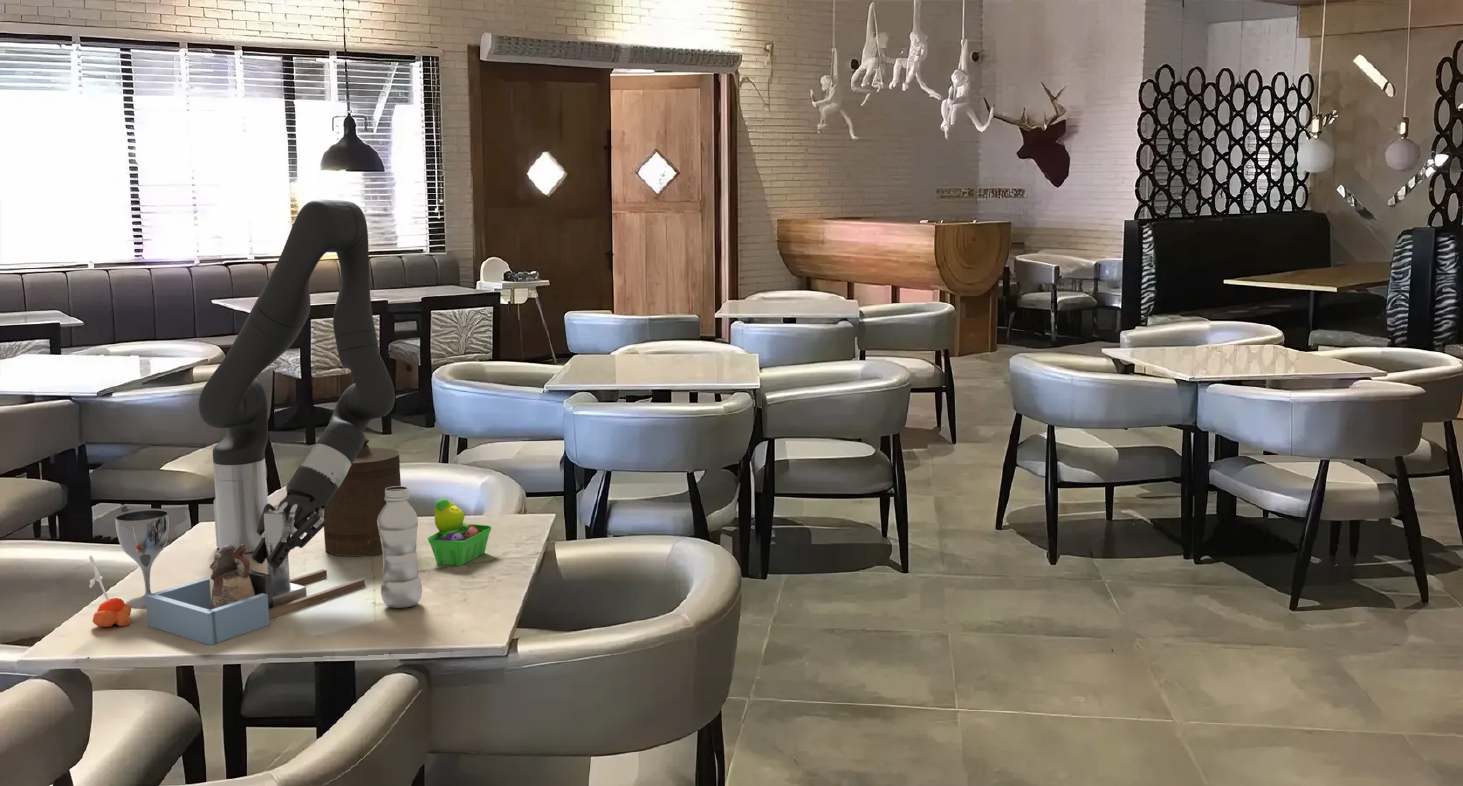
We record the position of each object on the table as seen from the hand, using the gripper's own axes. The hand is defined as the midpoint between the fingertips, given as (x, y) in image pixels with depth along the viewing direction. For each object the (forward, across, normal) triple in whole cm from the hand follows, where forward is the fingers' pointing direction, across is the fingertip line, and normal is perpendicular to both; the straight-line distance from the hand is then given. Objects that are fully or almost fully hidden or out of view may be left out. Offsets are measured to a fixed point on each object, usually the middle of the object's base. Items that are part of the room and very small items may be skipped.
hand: (264, 562), depth 204 cm
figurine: (+10, 0, +1) cm, 10 cm away
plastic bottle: (-3, +19, +14) cm, 24 cm away
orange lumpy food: (+19, -14, -8) cm, 25 cm away
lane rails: (+2, 0, +9) cm, 9 cm away
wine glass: (+12, -19, -1) cm, 22 cm away
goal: (+13, 0, -2) cm, 13 cm away
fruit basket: (-20, +7, +32) cm, 38 cm away
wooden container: (-18, -14, +29) cm, 37 cm away
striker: (+4, 0, +7) cm, 8 cm away
